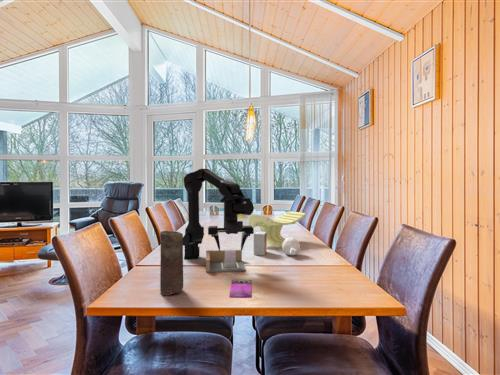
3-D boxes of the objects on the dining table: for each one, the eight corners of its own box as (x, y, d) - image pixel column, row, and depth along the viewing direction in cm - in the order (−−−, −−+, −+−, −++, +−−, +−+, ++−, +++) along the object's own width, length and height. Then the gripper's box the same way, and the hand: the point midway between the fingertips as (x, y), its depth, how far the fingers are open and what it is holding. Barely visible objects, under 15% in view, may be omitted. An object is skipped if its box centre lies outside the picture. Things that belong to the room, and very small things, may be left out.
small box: (264, 255, 144) (264, 234, 144) (253, 255, 146) (253, 233, 145) (266, 251, 152) (267, 231, 152) (256, 251, 153) (256, 231, 153)
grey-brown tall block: (162, 287, 100) (163, 229, 100) (184, 287, 101) (184, 229, 101) (157, 296, 93) (157, 233, 92) (181, 296, 93) (181, 233, 93)
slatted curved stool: (286, 238, 187) (287, 210, 186) (305, 243, 174) (305, 213, 174) (248, 244, 169) (248, 213, 169) (266, 249, 156) (266, 216, 156)
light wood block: (223, 262, 130) (223, 246, 129) (233, 262, 130) (234, 246, 130) (224, 268, 122) (224, 251, 122) (235, 267, 122) (235, 251, 122)
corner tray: (205, 272, 117) (206, 260, 117) (206, 261, 133) (206, 250, 133) (245, 271, 120) (245, 258, 119) (241, 260, 135) (241, 249, 135)
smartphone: (251, 282, 108) (251, 279, 108) (251, 298, 93) (251, 295, 93) (231, 282, 108) (231, 279, 108) (229, 298, 93) (229, 295, 93)
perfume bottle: (278, 248, 151) (281, 257, 139) (284, 232, 150) (288, 240, 138) (294, 253, 152) (298, 263, 140) (300, 237, 150) (305, 245, 139)
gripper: (208, 215, 113) (208, 256, 114) (255, 215, 116) (255, 254, 116) (208, 212, 124) (208, 249, 125) (251, 212, 127) (251, 248, 127)
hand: (230, 250), depth 123 cm, fingers open, 9 cm apart
